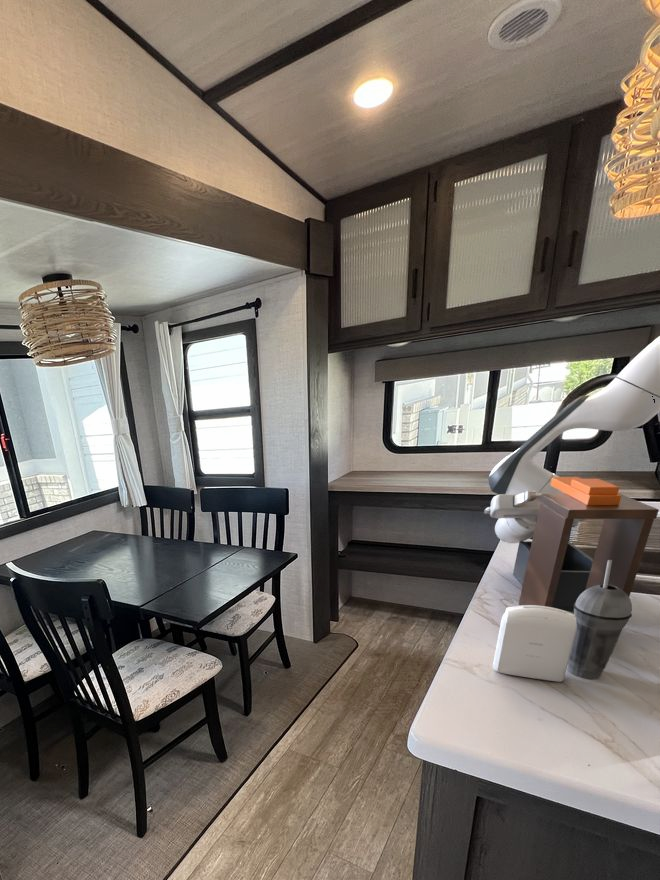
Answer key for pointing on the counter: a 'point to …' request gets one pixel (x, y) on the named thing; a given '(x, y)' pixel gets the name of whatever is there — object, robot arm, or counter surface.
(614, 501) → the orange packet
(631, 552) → the shelf stand
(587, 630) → the beverage cup
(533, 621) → the photo printer
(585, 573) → the trash bin
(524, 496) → the robot arm
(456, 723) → the counter surface
